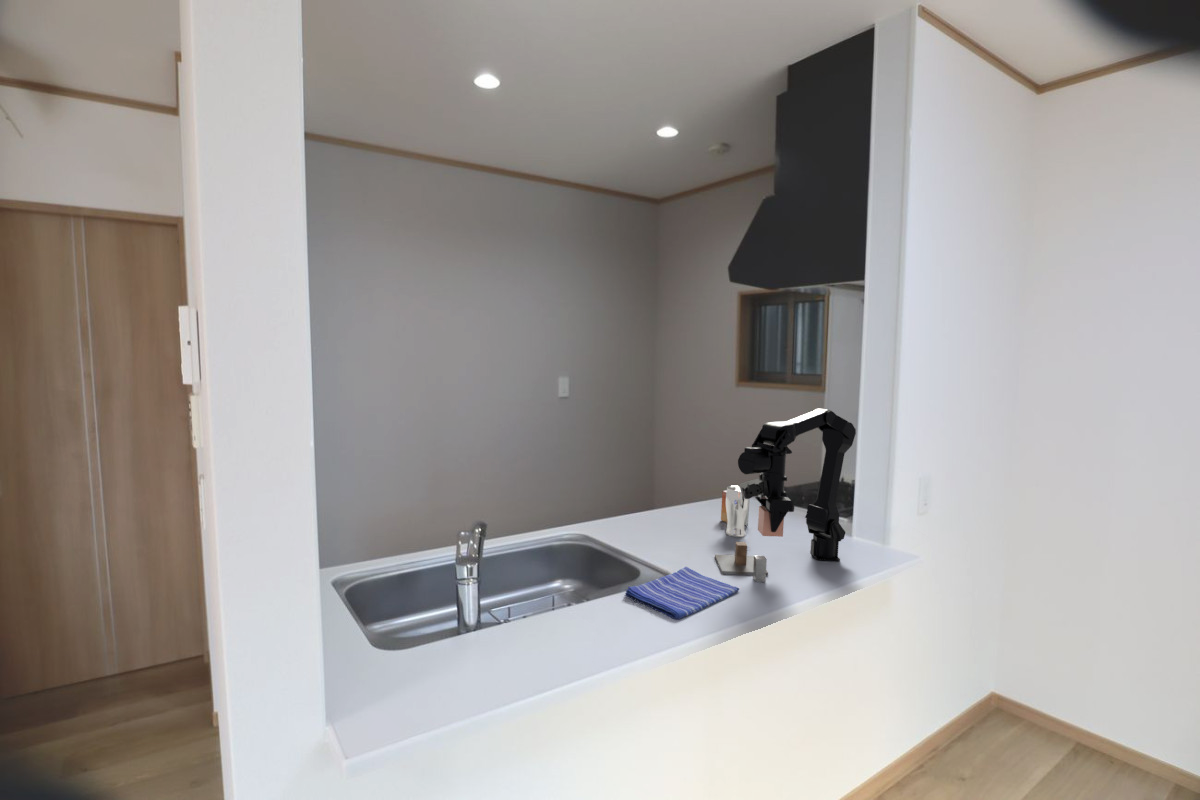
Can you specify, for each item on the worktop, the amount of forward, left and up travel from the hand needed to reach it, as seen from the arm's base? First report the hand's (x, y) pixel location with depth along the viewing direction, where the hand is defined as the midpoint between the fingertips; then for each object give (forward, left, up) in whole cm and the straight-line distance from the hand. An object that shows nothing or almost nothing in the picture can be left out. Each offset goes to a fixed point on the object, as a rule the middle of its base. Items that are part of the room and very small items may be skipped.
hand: (770, 528), depth 156 cm
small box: (+1, -42, -12) cm, 44 cm away
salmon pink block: (0, 0, -1) cm, 1 cm away
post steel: (+4, +6, -12) cm, 14 cm away
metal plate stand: (+7, -3, -12) cm, 14 cm away
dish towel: (+25, +16, -13) cm, 32 cm away
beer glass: (+3, -30, -12) cm, 32 cm away
